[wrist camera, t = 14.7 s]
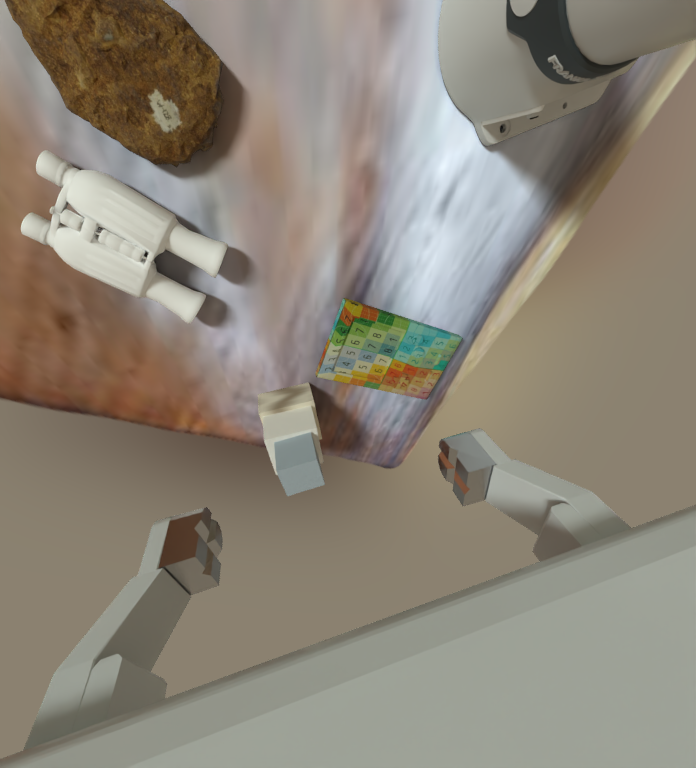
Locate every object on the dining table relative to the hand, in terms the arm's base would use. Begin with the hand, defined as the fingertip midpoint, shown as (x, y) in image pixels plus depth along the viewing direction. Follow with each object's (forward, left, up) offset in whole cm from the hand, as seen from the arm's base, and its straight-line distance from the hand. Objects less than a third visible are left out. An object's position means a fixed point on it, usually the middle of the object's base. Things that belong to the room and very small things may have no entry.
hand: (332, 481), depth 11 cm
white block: (+3, +23, -29) cm, 37 cm away
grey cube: (+3, +22, -24) cm, 33 cm away
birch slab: (+3, +22, -34) cm, 41 cm away
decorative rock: (+8, -18, -35) cm, 40 cm away
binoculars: (+14, -5, -35) cm, 38 cm away
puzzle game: (-14, +15, -35) cm, 40 cm away
